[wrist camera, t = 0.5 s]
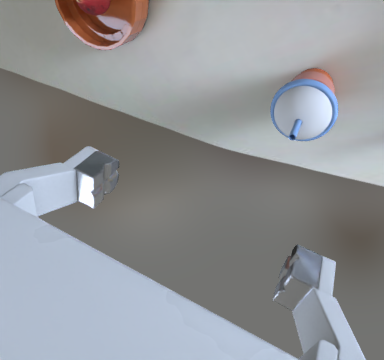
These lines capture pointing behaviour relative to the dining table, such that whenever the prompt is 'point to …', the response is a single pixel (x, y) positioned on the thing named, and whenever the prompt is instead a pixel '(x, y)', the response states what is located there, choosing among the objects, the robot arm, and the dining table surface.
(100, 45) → the terracotta bowl
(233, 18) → the dining table surface
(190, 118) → the dining table surface
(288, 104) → the cup with straw
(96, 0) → the onion
